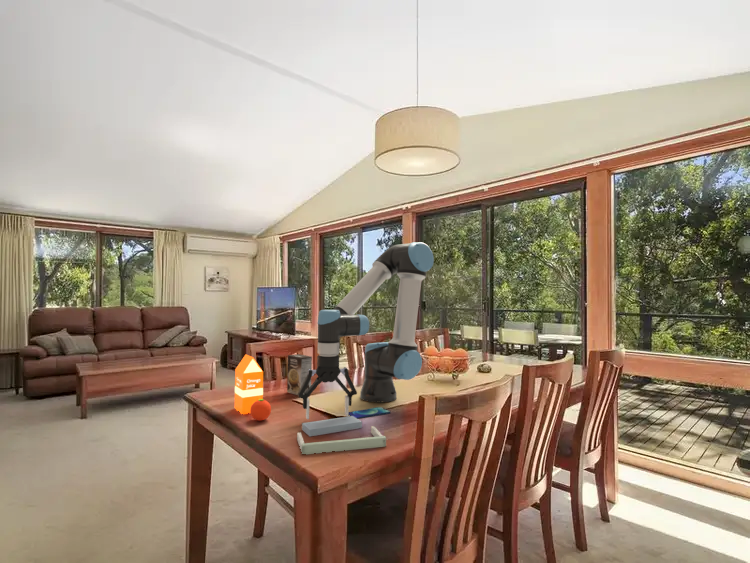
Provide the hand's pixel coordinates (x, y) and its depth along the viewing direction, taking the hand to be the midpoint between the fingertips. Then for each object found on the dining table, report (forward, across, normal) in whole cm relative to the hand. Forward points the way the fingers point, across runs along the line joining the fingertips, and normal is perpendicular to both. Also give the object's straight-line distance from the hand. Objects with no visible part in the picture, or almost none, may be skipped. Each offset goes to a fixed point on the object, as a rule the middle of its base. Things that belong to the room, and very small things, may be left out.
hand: (327, 416), depth 143 cm
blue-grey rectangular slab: (+2, 0, +9) cm, 9 cm away
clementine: (+2, +22, -6) cm, 23 cm away
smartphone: (+2, -16, -4) cm, 17 cm away
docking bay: (+1, 0, +22) cm, 22 cm away
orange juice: (+2, +26, -19) cm, 32 cm away
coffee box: (+2, +5, -40) cm, 41 cm away
